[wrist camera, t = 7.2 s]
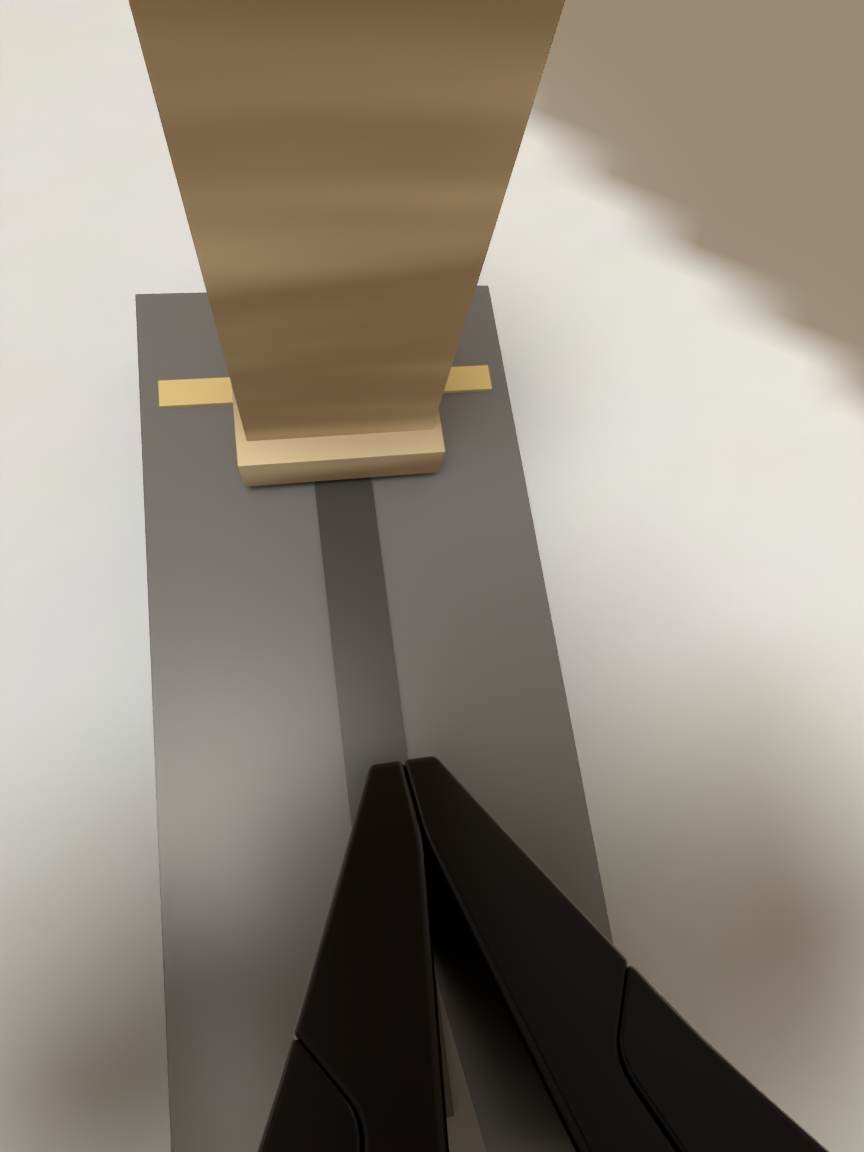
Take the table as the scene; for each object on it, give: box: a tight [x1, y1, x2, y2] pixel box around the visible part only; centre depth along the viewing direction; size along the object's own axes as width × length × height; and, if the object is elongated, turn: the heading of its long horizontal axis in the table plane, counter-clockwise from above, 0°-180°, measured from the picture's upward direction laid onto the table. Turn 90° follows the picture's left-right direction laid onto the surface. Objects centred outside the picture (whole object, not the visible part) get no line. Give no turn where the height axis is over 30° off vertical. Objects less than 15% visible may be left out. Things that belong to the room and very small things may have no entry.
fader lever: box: [129, 0, 565, 487], centre depth 9 cm, size 3×5×12 cm, turn 98°
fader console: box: [136, 286, 613, 1152], centre depth 14 cm, size 18×8×2 cm, turn 8°
